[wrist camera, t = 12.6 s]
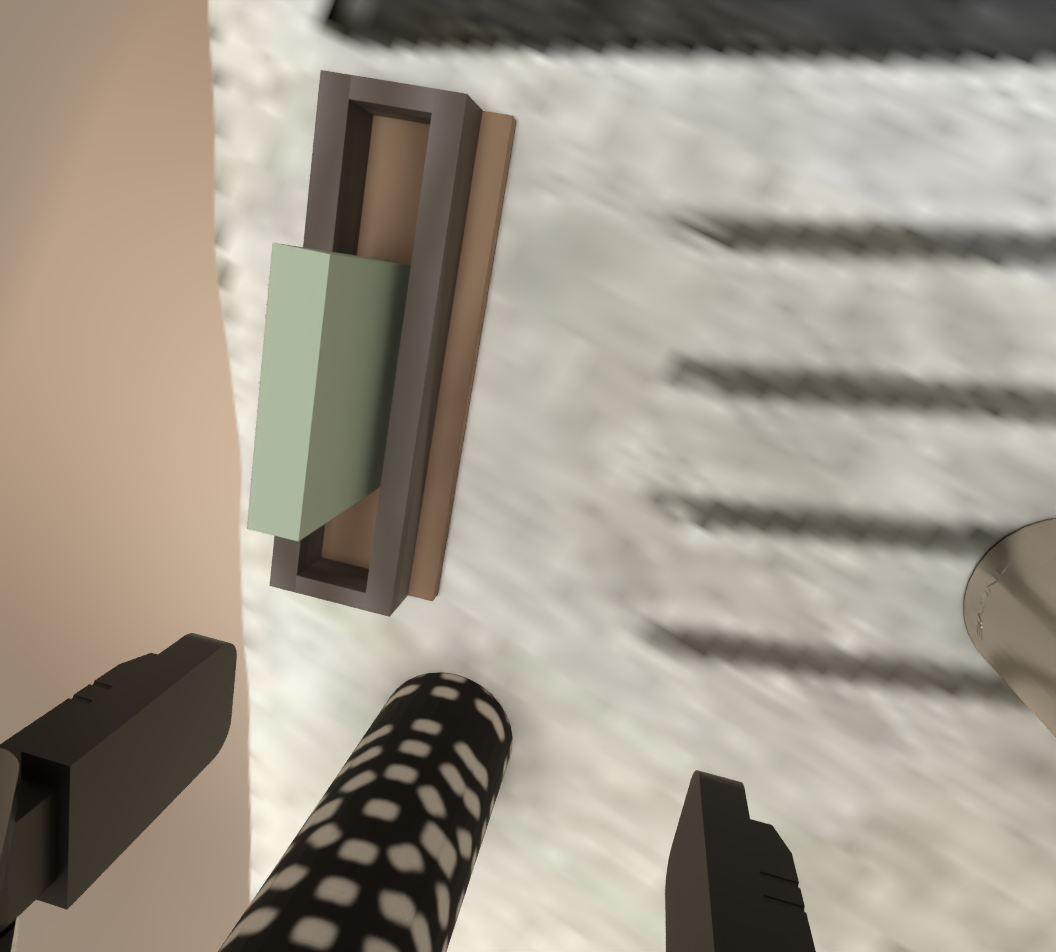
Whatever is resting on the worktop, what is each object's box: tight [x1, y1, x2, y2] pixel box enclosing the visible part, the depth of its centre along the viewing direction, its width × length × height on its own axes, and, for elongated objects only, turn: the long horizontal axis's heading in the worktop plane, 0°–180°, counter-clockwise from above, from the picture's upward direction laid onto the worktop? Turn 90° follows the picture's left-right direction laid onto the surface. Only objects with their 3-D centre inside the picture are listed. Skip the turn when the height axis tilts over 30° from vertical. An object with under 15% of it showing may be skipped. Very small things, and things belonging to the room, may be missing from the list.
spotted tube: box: [218, 673, 512, 952], centre depth 35 cm, size 8×8×20 cm
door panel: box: [247, 243, 411, 541], centre depth 34 cm, size 2×12×10 cm, turn 169°
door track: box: [270, 70, 516, 617], centre depth 38 cm, size 10×26×4 cm, turn 170°
